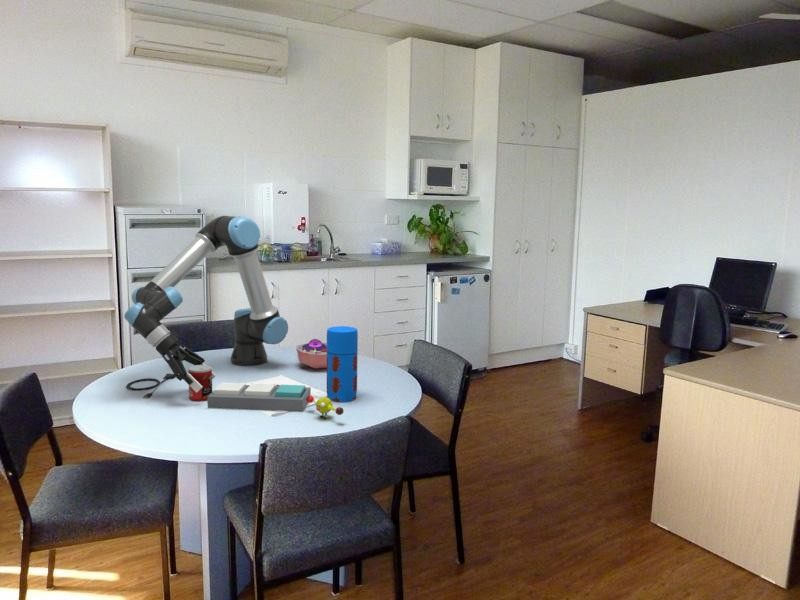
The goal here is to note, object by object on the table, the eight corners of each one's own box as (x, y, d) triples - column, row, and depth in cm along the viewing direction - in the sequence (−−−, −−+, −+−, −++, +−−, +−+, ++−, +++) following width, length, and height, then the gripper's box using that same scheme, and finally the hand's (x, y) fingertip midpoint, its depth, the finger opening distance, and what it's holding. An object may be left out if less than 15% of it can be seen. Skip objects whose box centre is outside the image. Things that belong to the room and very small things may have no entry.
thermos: (349, 404, 220) (349, 333, 216) (321, 400, 223) (321, 330, 219) (361, 395, 230) (362, 327, 226) (335, 391, 233) (335, 325, 229)
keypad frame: (221, 395, 226) (220, 384, 226) (310, 398, 225) (310, 387, 224) (207, 407, 213) (207, 396, 212) (302, 411, 211) (302, 399, 211)
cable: (109, 398, 221) (109, 394, 221) (143, 376, 249) (143, 372, 249) (148, 399, 221) (147, 395, 221) (177, 376, 249) (177, 373, 249)
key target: (281, 394, 222) (281, 384, 222) (305, 395, 222) (305, 385, 221) (275, 402, 214) (275, 392, 213) (300, 402, 214) (300, 392, 213)
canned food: (206, 402, 218) (205, 371, 216) (184, 400, 220) (183, 369, 218) (216, 395, 226) (215, 365, 224) (195, 393, 227) (194, 364, 225)
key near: (222, 392, 223) (222, 382, 223) (246, 392, 223) (245, 383, 222) (214, 399, 215) (213, 389, 214) (238, 400, 215) (238, 390, 214)
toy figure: (300, 412, 210) (300, 392, 209) (313, 408, 214) (313, 389, 213) (334, 427, 198) (334, 406, 197) (348, 423, 202) (348, 402, 200)
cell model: (298, 374, 254) (298, 347, 252) (294, 361, 273) (294, 336, 271) (340, 372, 258) (340, 345, 256) (333, 360, 277) (333, 334, 275)
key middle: (251, 393, 223) (251, 383, 222) (275, 394, 222) (275, 384, 222) (244, 400, 214) (244, 390, 214) (269, 401, 214) (269, 391, 214)
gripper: (170, 339, 233) (211, 380, 235) (139, 356, 208) (186, 402, 210) (184, 326, 232) (225, 367, 233) (154, 341, 207) (201, 387, 209)
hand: (206, 383), depth 222 cm, fingers open, 13 cm apart
